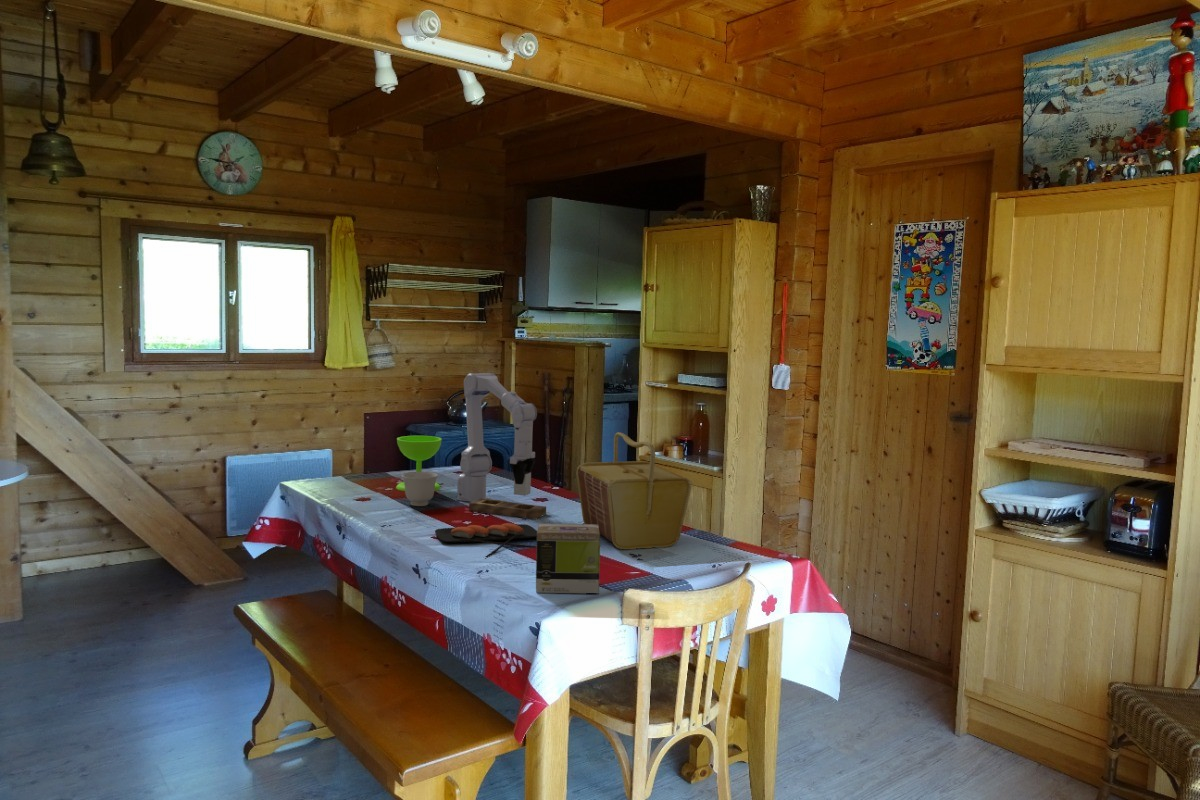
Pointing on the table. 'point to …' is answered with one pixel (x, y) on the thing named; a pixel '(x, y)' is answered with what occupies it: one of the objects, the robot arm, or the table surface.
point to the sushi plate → (487, 534)
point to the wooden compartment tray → (507, 508)
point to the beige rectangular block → (523, 485)
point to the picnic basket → (633, 500)
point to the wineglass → (418, 451)
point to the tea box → (567, 558)
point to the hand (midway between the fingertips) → (521, 482)
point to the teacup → (419, 487)
